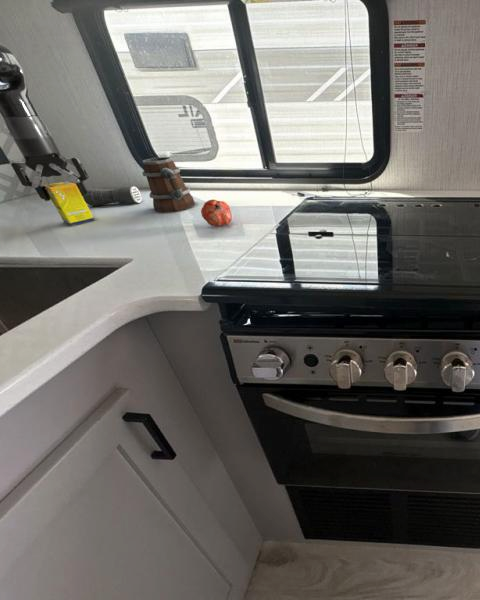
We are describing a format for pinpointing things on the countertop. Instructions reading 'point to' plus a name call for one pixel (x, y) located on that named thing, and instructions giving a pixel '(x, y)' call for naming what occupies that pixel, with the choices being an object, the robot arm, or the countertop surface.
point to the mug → (166, 185)
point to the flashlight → (113, 196)
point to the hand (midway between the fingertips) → (66, 197)
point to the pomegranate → (216, 213)
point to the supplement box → (69, 203)
